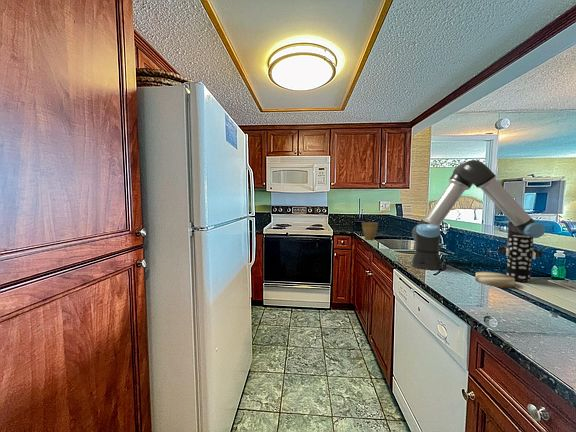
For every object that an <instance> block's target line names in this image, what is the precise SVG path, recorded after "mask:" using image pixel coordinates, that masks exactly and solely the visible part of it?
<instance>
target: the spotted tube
mask: <svg viewBox="0 0 576 432" xmlns="http://www.w3.org/2000/svg"><path fill="white" fill-rule="evenodd" d="M533 246H534V238H533V237H531V236H523V235H509V248H508V249H509V256H507V263H506V265H507V266H506V275H508V276H511V277H513V278H515V281H520V282H529V281H531V272H532V261H533V258H532V249H534V247H533Z"/></svg>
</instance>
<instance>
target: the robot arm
mask: <svg viewBox="0 0 576 432" xmlns="http://www.w3.org/2000/svg"><path fill="white" fill-rule="evenodd" d="M496 176H497V175H496V174H495V173H494V172H493V171H492V170H491V169H490V168H489V167H488V166H487V165H486V164H485V163H484V162H483V161H481V160H477V159H471V160H468V161H465V162H462V163H460V164H458V165H457V166H456V167H455V168H454V169H453V172H452V175H451V176H450V178H449V179H448V182H449V184H448V185H447V187H446V188H445V190H444V191H443V192H442V194H440V197H439V198H438V199H437V201H436V202H435V204H434V205H433V206H432V208H431V210H430V211H429V212H428V214H427V215H426V217H423V218H421V220H419V222H418V223H417V224H416V225H415V226H414V227H413V229H412V230H411V236H412V238H413V240H414V241H415V252H414V254H413V257H412V260H411V266H412V267H414V268H416V269H417V268H418V269H422V270H428V271H429V270H430V271H431V270H432V271H437V270H442V269H443V263H442V260H441V256H440V242H441V240H440V238H441V227H440V226H441V224H442V223H443V221H444V220H445V218H446V217H447V216H448V214H449V213H450V211H451V210H452V209H453V207H454V206H455V205H456V203H457V202H458V200H459V199H460V197H461V196H462V195H463V193H464V192H465V191H468V190H470V189H471V188H472V186H475V187H476V188H478V189H481V190H482V192H484V194H485V195H486V196H487V197H488V198H489V199H490V201H492V202H493V204H494V205H495V206H496V207H497V208H498V209H499V211H501V212H502V213H503V215H505V217H506V218H507V219H508V223H507V224H508V225H507V226H508V227H507V237H506V238H507V239H506V240H507V241H506V245H503V244H501V245H500V246H498V247H497V252H498V253H502V255H504V256H506V257H508V256H509V249H508V248H509V235H523V236H531V237H533V239H539V238H540V237H543V236H544V235H545V233H546V229H545V226H544V225H543V224H541V223H539V222H536V221H535V220H534V219H533V218H532V217H531V216H530V215H529V213H527V211H526V210H525V209H524V208H523V207H522V206H521V205H520V204H519V203H518V202H517V200H516V199H514V197H513V196H512V195H511V194H510V192H508V191H507V190H506V188H504V186H503V185H502V184H501V183H500V182H499V181H498V180H497V179H496V178H497V177H496ZM542 257H543V251H541V250H539V249H537V248H535V247H533V249H532V260H536V258H542Z"/></svg>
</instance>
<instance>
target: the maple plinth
mask: <svg viewBox="0 0 576 432" xmlns="http://www.w3.org/2000/svg"><path fill="white" fill-rule="evenodd" d="M474 280H475V281H476V282H477V283H479V284H481V285H482V284H483V285H486V286H490V287H495V288H503V289H504V288H506V289H507V288H514V287H515V285H516V280H515V278H513V277H511V276H508V275H507V274H504V273H498V272H494V271H493V272H492V271H477V272H475V278H474Z"/></svg>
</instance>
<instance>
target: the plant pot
mask: <svg viewBox="0 0 576 432" xmlns="http://www.w3.org/2000/svg"><path fill="white" fill-rule="evenodd" d="M361 229H362V233H363V236H364V240H367V241H374V240H375V237H376V234H377V231H378V229H379V222H373V221H364V222H363V221H362V222H361Z"/></svg>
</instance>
